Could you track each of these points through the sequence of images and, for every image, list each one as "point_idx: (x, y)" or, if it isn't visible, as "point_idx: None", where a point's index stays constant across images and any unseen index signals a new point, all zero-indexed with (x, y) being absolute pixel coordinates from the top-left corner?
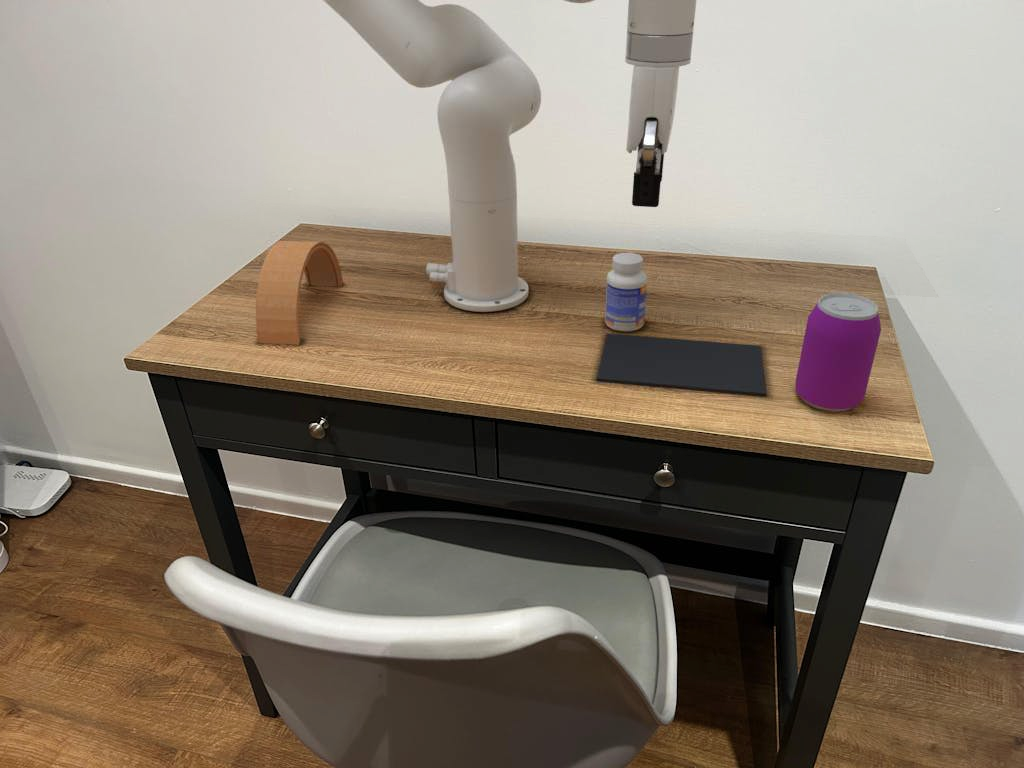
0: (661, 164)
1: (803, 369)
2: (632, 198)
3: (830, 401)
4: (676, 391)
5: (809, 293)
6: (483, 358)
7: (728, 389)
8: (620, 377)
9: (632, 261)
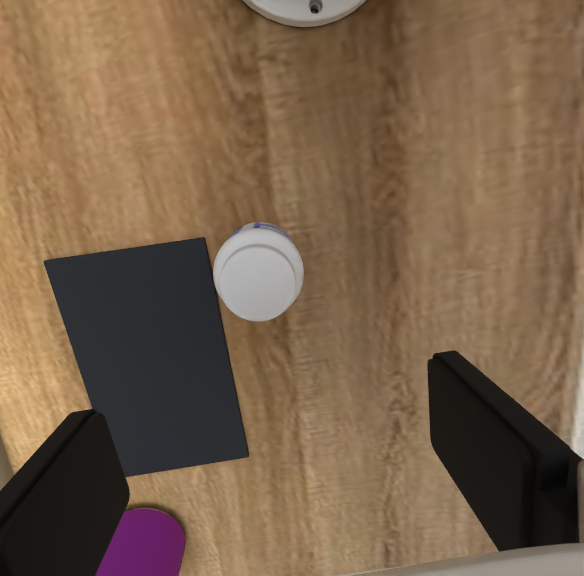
0: (476, 513)
1: None
2: (57, 429)
3: None
4: (76, 374)
5: (449, 490)
6: (20, 25)
7: None
8: (64, 295)
9: (238, 302)
